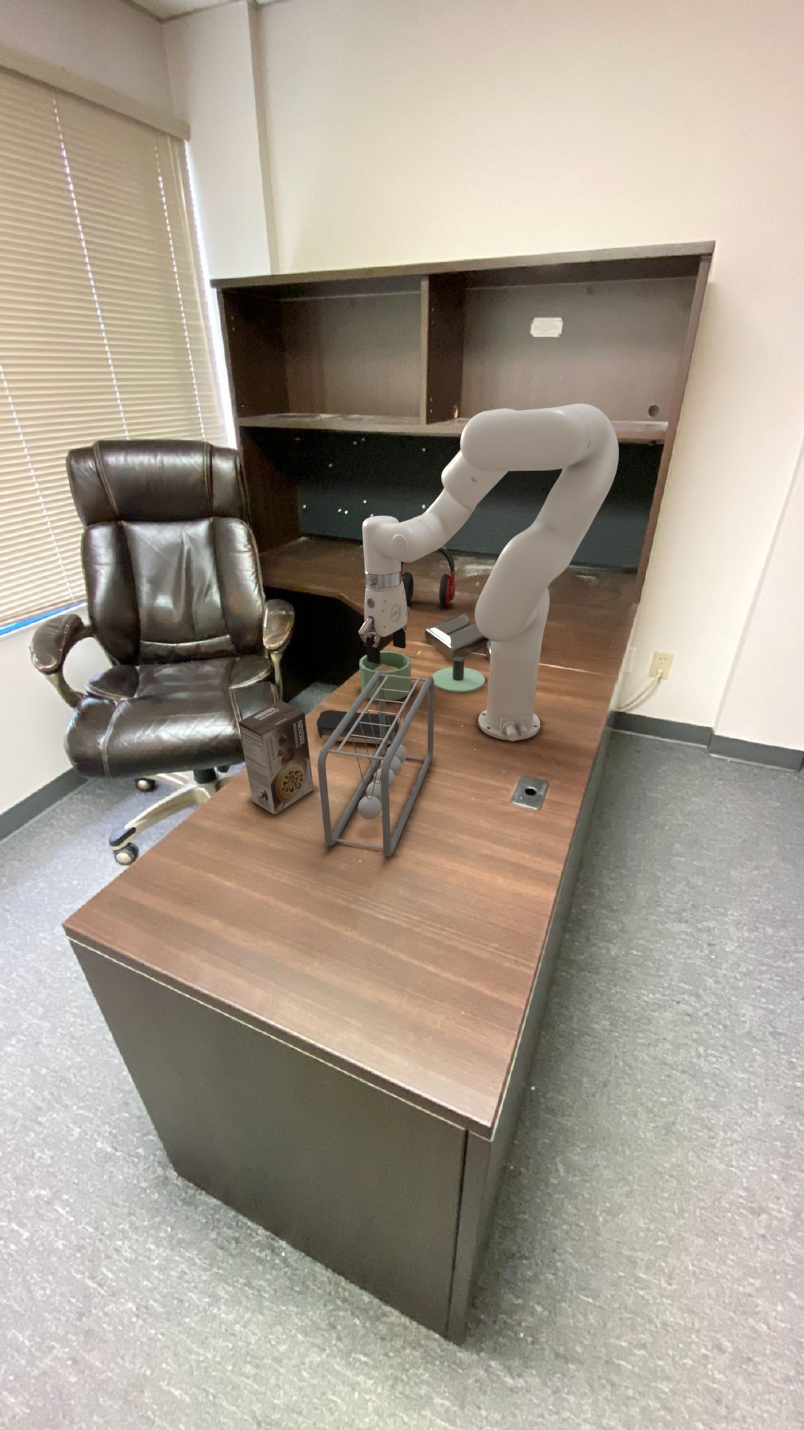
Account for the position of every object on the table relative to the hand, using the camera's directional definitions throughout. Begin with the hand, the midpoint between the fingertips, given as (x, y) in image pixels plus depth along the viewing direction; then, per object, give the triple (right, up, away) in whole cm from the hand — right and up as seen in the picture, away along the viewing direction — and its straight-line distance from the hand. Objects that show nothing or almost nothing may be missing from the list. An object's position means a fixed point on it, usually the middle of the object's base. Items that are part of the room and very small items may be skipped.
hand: (387, 654), depth 135 cm
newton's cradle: (0, -28, -30) cm, 41 cm away
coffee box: (-17, -28, -29) cm, 43 cm away
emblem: (+23, +6, +28) cm, 37 cm away
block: (0, -8, +5) cm, 9 cm away
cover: (+16, -5, +8) cm, 19 cm away
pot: (0, -8, +5) cm, 9 cm away
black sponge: (-5, -18, -12) cm, 22 cm away
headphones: (+11, +21, +55) cm, 60 cm away
